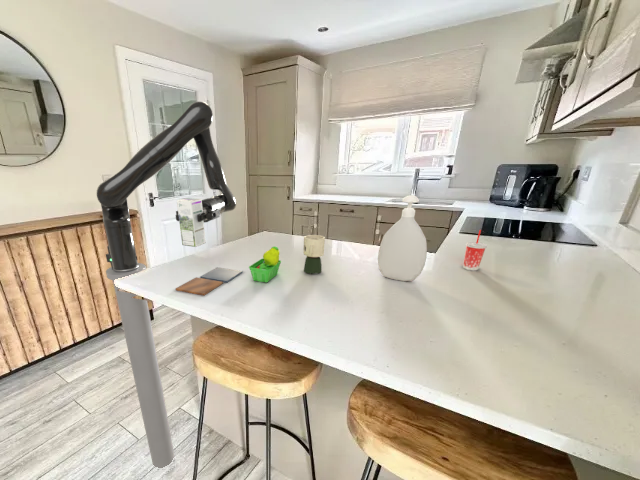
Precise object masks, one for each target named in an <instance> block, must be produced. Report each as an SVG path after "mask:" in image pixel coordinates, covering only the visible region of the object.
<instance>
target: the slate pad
mask: <svg viewBox="0 0 640 480" xmlns="http://www.w3.org/2000/svg"><path fill="white" fill-rule="evenodd" d="M241 274H243V271H242V270H237V269H232V268H222V267H215V268H213V269H212V270H210V271H208V272H206V273H205V274H202V275H201V276H200V277H199V278H203V279H209V280H215V281H221V282H223V283H225V284H226V283H227V284H228V283H229V282H231V281H232V280H234V279H235V278H237V277H238V276H240V275H241Z"/></svg>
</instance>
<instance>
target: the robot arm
mask: <svg viewBox="0 0 640 480" xmlns="http://www.w3.org/2000/svg"><path fill="white" fill-rule="evenodd" d="M213 120H214V113H213V110H212V107H210V105H209V104H208V103H206V102H204V101H194V102H192V103H191V104H190V105H188V107H187V109H186V110H185V111H184V112H183V113H182V114H181V115H180V116H179V118H178V119H177V120H176V121H175V122H173V124H171V125H170V126H169V127H167V128H165V129H164V130H162V131H161V132H160V133H157V135H156V136H154V137H153V138H151V139H150V140H149V141H148V142H147V143H146V144H144V145H143V146H142V147H141V148H140V149H139V150H138V151H137V152H136V153H135V154H134V155H133V157H132V158H131V159H130V160H129V161H128V162H127V163H126V165H124V167H123V168H122V169H120V171H118V172H117V173H115V174H114V175H113V176H111V177H110V178H108V179H107V180H105V181H103V182H101V183H100V184H99V185H98V187H97V189H96V193H95V194H96V199H97V201H98V202H99V204H100V208H101V211H102V222H103V227H104V231H105V236H106V240H107V246H106V248H107V252H108V253H105V258H106V262H107V263H109V264H110V266H111V267H112V270H113V271H115V272H129V271H133V270H136V269H137V268H138V267H139V266H138V263H139V262H138V255H137V251H136V246H135V241H134V234H133V230H132V224H131V216H130V215H131V214H130V210H129V204H128V198H129V197H130V196H131V194H132V193H134V191H135V190H136V189H137V188H138V187H140V185H142V184H143V183H145V182H146V181H148V180H149V179H151V178H152V177H154V176H155V175H156V174H158V173H159V172H160V171H162V170H163V169H164V168H165V167H166V166H167V165H169V163H170V162H171V161H173V159H174V158H175V157H176V156H177V155H178V154H179V153H181V150H182V149H184V147H185V146H186V145H187V144H188V143H189V142H190V141H191V140H192V139H193V140H194V143H195V146H196V148H197V151H198V154H199V158H200V160H201V164H202V168H203V171H204V175H205V178H206V182H207V185H208V187H209V189H210V190H212V191H220V192H221V194H217V195H213V196H211V197H208V198H207V197H206V198H204V199H201V200H202V209H203V213H200V214H198V215H197V219H198V222H201V221H204V223H209V222H210V221H213V220H215V219H218V218H220V217H221V215H222V214H223V213H227V212H232V211H234V210H235V209H236V207H237V200H236V198H235V195H234V193H233V192H232V191H231V189H230V186H229V185H228V182H227V180H226V176H225V173H224V169H223V167H222V163H221V161H220V158H219V156H218V153H217V151H216V148H215V146H214V143H213V140H212V136H211V128H210V127H211V126H212V123H213ZM175 220H176V222H179V215H178V210H175Z"/></svg>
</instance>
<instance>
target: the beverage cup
mask: <svg viewBox="0 0 640 480" xmlns="http://www.w3.org/2000/svg"><path fill="white" fill-rule="evenodd" d="M481 233H482V229H479V231H478V234H477V238H476V241H468V242H465V246H466V247H465V252H464V259H463V263H462V268H463V269H464V270H467V271H479V268H480V266H481V262H482V260H483V256H484V254H485V251H486V249H487V247H488V244H487V243H483V242H479V241H480V240H479V239H480V236H481Z"/></svg>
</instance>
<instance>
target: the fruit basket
mask: <svg viewBox="0 0 640 480" xmlns="http://www.w3.org/2000/svg"><path fill="white" fill-rule="evenodd" d="M280 253H281V252H280V249H279V247H278V246H272V247H270V248H269V250H267V251H265V252H264V253H263V254H262V258H261V259H259V260H257V261H256V262H254V263H253V264H251V265H249V266H248V269H249V270H250V273H251V276H252V280H253V281H254V282H256V281H257V282H259V283H260V282H261V283H268V282H269V281H271V280H272V279H273V278H275V277H276V276H277V275H278V274H279V273H278V272H279V269H280V265H281V263H282V260H280Z"/></svg>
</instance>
